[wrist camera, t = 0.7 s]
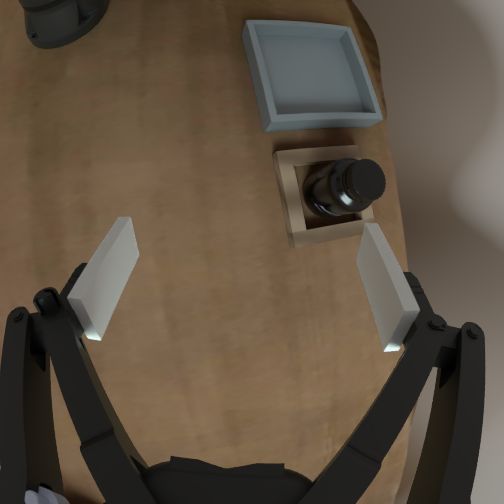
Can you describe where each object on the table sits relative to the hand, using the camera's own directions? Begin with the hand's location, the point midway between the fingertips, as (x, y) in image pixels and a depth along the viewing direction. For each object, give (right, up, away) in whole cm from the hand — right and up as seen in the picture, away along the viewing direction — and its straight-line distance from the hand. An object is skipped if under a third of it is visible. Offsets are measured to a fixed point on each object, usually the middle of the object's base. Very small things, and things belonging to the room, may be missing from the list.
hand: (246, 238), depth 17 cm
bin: (+9, +27, +26) cm, 38 cm away
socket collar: (+10, +7, +26) cm, 29 cm away
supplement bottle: (+10, +7, +27) cm, 30 cm away
